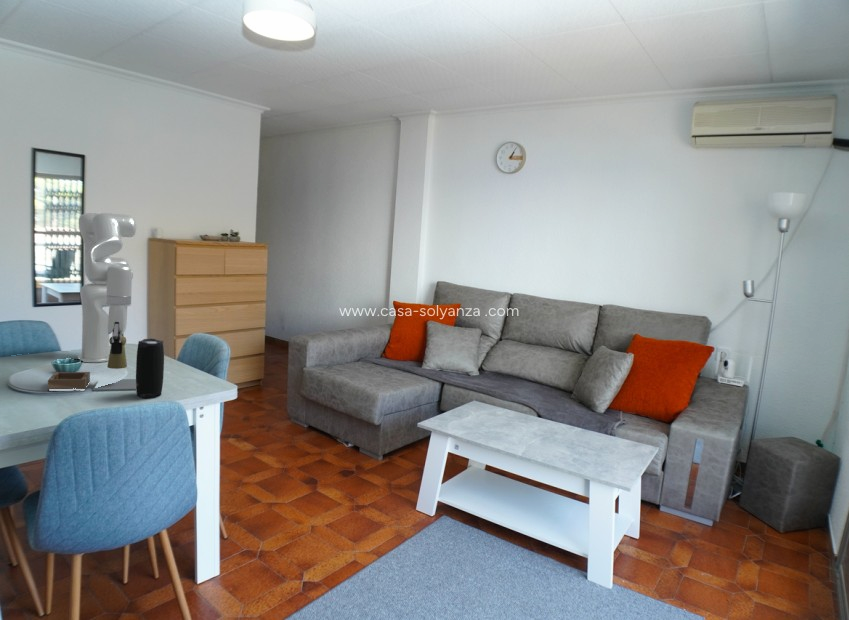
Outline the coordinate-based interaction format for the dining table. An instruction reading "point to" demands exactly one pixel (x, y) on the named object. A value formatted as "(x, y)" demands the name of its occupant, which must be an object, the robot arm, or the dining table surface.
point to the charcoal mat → (119, 386)
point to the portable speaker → (149, 368)
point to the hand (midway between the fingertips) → (117, 351)
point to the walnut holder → (69, 380)
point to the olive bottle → (118, 357)
